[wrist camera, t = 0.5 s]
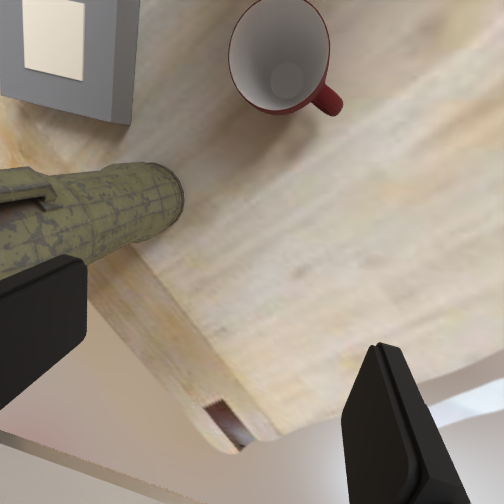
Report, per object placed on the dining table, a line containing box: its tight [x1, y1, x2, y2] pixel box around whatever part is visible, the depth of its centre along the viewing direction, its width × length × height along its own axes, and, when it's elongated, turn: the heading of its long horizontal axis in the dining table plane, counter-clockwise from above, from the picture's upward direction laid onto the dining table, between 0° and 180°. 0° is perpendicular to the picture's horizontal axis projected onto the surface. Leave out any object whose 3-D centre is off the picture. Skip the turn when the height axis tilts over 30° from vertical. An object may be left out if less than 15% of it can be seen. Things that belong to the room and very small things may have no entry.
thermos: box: [0, 162, 184, 280], centre depth 24 cm, size 9×12×35 cm
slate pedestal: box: [0, 0, 140, 125], centre depth 34 cm, size 14×14×4 cm
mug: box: [228, 0, 343, 116], centre depth 29 cm, size 10×8×10 cm
